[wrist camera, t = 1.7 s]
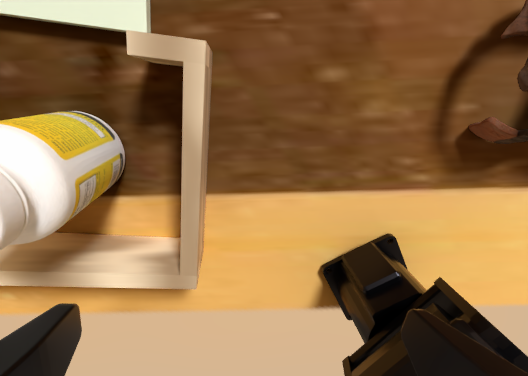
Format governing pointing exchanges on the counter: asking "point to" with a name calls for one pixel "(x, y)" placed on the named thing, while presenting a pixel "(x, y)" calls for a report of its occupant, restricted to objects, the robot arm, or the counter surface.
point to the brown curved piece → (494, 128)
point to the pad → (84, 13)
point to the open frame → (136, 247)
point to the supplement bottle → (53, 171)
